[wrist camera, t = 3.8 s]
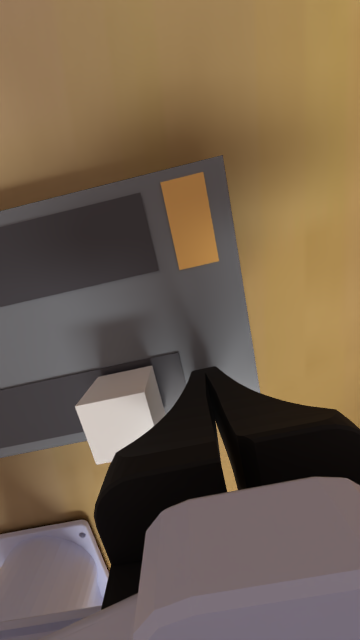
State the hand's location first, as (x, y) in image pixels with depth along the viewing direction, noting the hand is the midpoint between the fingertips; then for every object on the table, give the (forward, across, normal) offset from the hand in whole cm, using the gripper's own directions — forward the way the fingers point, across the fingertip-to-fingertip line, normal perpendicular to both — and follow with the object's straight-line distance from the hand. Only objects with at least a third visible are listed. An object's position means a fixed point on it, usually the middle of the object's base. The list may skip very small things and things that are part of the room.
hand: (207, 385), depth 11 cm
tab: (+1, +4, 0) cm, 4 cm away
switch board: (+3, +9, -4) cm, 10 cm away
